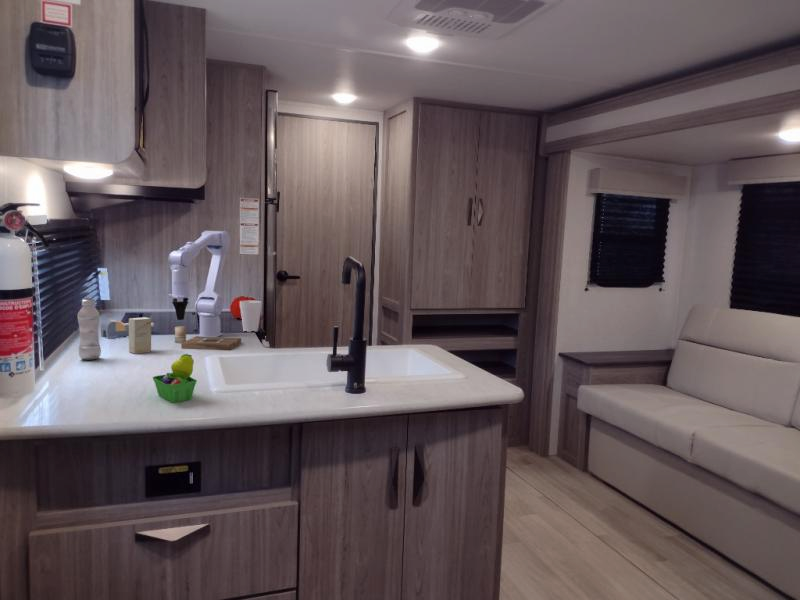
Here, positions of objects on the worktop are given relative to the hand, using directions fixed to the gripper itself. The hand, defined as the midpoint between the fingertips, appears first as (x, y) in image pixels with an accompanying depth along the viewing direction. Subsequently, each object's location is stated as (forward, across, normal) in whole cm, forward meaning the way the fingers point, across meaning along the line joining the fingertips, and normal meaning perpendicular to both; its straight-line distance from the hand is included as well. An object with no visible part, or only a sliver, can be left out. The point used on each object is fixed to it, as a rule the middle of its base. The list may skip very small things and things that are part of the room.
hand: (180, 318), depth 215 cm
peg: (+10, -4, 0) cm, 11 cm away
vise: (+11, -23, -21) cm, 33 cm away
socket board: (+10, +5, +11) cm, 16 cm away
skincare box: (+10, +12, -13) cm, 21 cm away
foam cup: (+11, -26, +29) cm, 40 cm away
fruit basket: (+10, +72, 0) cm, 73 cm away
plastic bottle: (+10, +21, -28) cm, 36 cm away
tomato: (+11, -60, +29) cm, 68 cm away
